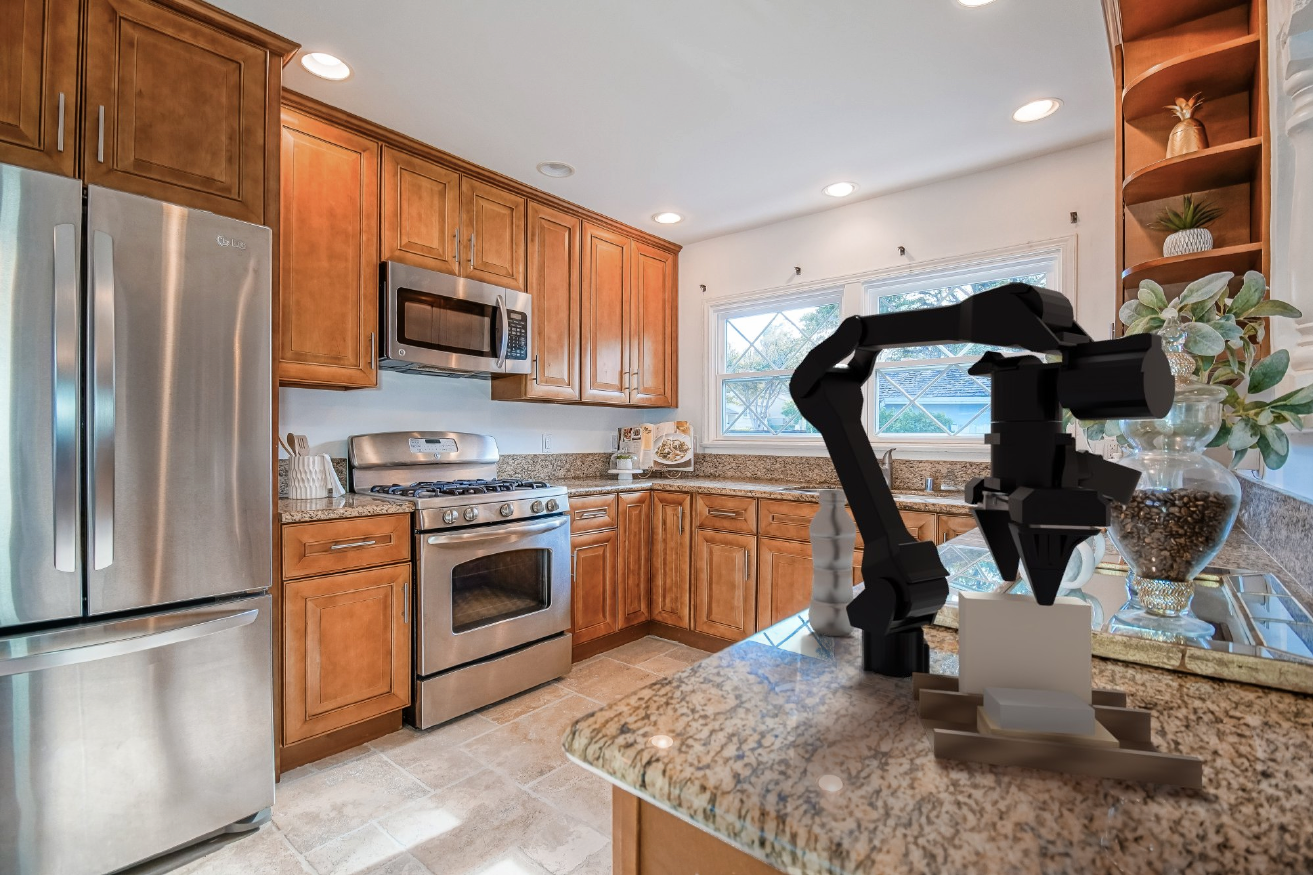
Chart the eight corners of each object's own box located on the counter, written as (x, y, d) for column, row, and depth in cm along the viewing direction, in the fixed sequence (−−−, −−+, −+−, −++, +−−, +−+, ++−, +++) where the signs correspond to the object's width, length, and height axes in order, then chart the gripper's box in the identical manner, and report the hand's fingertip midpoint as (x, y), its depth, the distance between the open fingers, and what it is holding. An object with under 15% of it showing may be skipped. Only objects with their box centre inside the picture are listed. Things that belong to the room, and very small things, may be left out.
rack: (935, 775, 49) (935, 725, 49) (910, 706, 62) (910, 666, 63) (1202, 809, 45) (1202, 754, 45) (1115, 726, 58) (1114, 684, 58)
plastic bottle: (799, 634, 86) (799, 490, 86) (822, 624, 91) (822, 488, 91) (843, 645, 81) (842, 493, 82) (865, 633, 86) (864, 490, 86)
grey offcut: (1000, 728, 50) (1000, 704, 50) (983, 709, 54) (983, 686, 54) (1094, 735, 49) (1094, 709, 49) (1071, 715, 52) (1071, 691, 52)
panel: (966, 719, 56) (965, 598, 56) (958, 705, 59) (958, 590, 59) (1091, 732, 54) (1091, 605, 54) (1077, 717, 57) (1077, 597, 57)
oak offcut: (991, 753, 50) (991, 728, 50) (977, 728, 54) (976, 705, 54) (1119, 768, 48) (1119, 742, 48) (1093, 740, 52) (1093, 717, 52)
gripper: (1190, 418, 46) (1191, 628, 46) (1079, 424, 64) (1079, 575, 64) (1024, 419, 48) (1024, 618, 48) (963, 425, 67) (963, 570, 66)
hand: (1025, 592), depth 57 cm, fingers open, 9 cm apart
